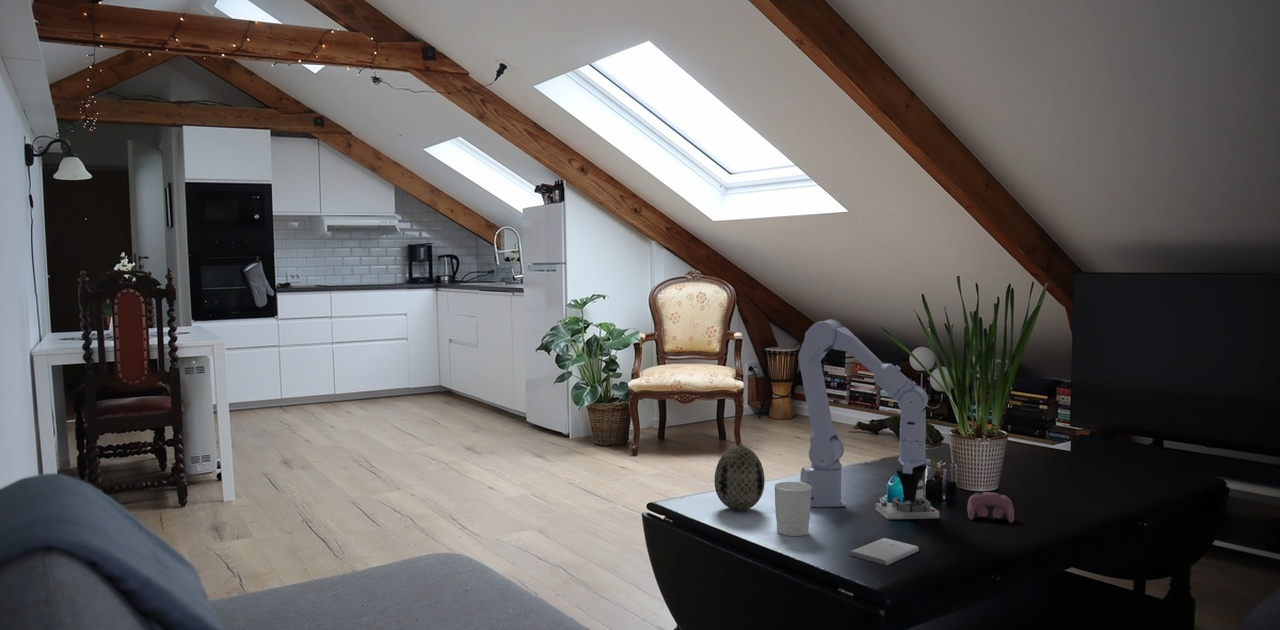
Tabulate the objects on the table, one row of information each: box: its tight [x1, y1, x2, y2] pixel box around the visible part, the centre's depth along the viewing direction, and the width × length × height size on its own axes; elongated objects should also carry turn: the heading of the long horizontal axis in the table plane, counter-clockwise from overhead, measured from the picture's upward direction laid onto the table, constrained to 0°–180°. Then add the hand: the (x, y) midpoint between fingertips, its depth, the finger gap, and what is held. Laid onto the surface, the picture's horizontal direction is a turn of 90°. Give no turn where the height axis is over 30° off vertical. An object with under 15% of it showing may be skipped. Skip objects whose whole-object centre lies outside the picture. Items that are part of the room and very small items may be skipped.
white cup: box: [774, 481, 812, 537], centre depth 192 cm, size 8×8×10 cm
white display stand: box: [874, 497, 940, 520], centre depth 206 cm, size 12×8×3 cm, turn 95°
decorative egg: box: [714, 445, 766, 512], centre depth 209 cm, size 12×12×15 cm
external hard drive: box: [849, 537, 920, 566], centre depth 178 cm, size 2×8×12 cm
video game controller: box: [966, 491, 1015, 524], centre depth 203 cm, size 10×5×7 cm, turn 72°
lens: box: [902, 479, 924, 505], centre depth 206 cm, size 5×5×6 cm
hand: (911, 498), depth 206 cm, fingers closed on lens, 4 cm apart
